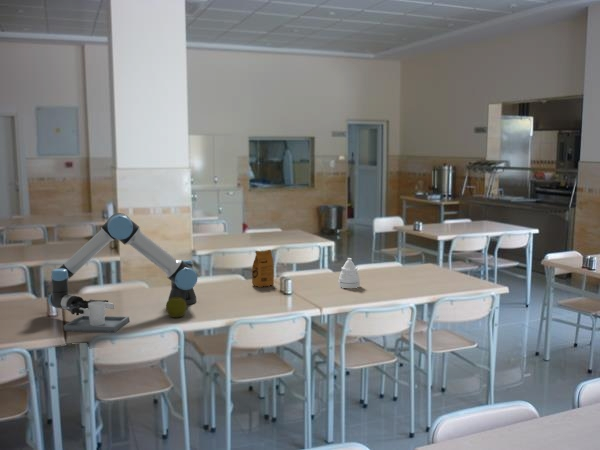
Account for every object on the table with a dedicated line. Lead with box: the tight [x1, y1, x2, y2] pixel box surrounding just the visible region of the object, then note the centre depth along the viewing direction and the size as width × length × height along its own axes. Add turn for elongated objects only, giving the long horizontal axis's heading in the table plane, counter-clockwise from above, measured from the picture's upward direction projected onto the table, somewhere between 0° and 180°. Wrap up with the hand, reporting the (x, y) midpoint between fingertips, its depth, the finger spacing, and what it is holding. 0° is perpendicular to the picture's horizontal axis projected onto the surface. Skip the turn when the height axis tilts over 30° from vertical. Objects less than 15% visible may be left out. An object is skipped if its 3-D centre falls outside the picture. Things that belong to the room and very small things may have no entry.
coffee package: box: [251, 249, 275, 288], centre depth 373 cm, size 10×12×22 cm
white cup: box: [87, 301, 106, 326], centre depth 285 cm, size 8×8×10 cm
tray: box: [63, 314, 130, 333], centre depth 286 cm, size 24×18×2 cm
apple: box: [165, 297, 188, 318], centre depth 302 cm, size 10×10×11 cm
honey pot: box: [338, 257, 361, 289], centre depth 370 cm, size 13×13×18 cm
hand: (101, 309), depth 283 cm, fingers open, 13 cm apart
